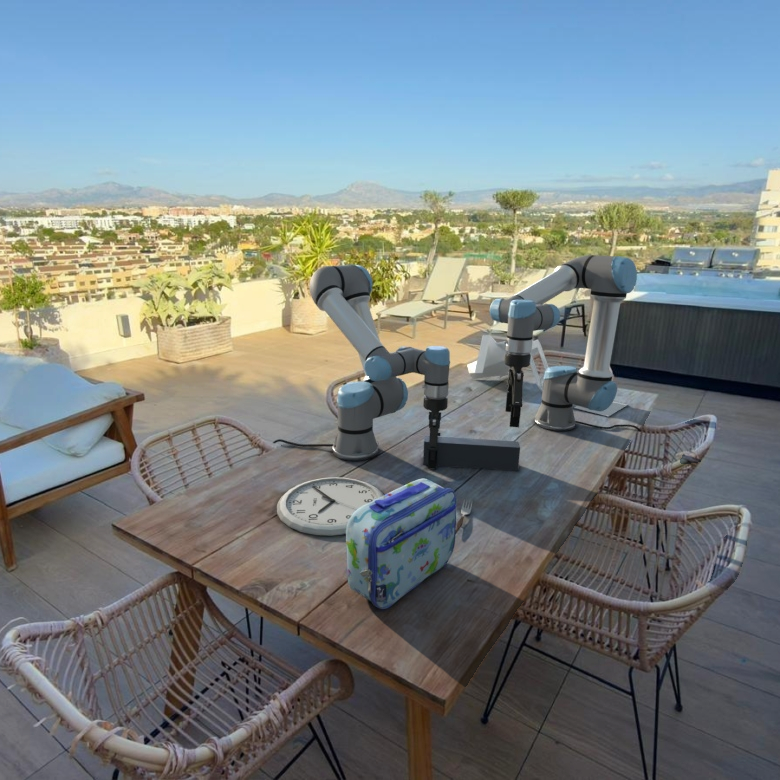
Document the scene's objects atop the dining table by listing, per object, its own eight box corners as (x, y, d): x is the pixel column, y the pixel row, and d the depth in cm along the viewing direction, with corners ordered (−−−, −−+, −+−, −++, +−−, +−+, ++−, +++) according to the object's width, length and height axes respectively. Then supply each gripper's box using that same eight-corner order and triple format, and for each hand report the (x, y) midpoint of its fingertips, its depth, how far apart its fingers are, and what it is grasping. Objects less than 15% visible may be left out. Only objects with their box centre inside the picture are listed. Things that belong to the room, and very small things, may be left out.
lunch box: (375, 622, 100) (376, 527, 94) (339, 595, 108) (338, 505, 101) (459, 565, 118) (465, 481, 112) (424, 545, 125) (427, 465, 119)
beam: (516, 464, 170) (518, 441, 167) (517, 470, 165) (520, 447, 163) (423, 458, 173) (424, 435, 171) (423, 464, 168) (423, 441, 166)
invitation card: (608, 416, 214) (573, 407, 224) (608, 416, 214) (573, 407, 224) (627, 404, 229) (594, 396, 238) (627, 405, 229) (594, 397, 239)
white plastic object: (488, 421, 263) (468, 398, 238) (469, 347, 285) (449, 320, 260) (560, 397, 251) (547, 370, 226) (534, 322, 273) (519, 290, 248)
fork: (449, 535, 129) (449, 528, 129) (463, 505, 144) (463, 498, 143) (459, 537, 129) (460, 530, 128) (472, 507, 143) (473, 500, 142)
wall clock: (392, 527, 129) (269, 531, 127) (392, 533, 130) (269, 537, 127) (383, 473, 158) (282, 475, 155) (383, 478, 158) (283, 480, 156)
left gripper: (425, 385, 175) (423, 447, 181) (421, 406, 153) (419, 475, 160) (448, 386, 174) (445, 448, 180) (447, 408, 153) (443, 477, 159)
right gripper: (501, 343, 169) (496, 405, 175) (509, 361, 145) (503, 432, 151) (525, 344, 168) (519, 406, 174) (537, 363, 144) (529, 434, 151)
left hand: (432, 461), depth 170 cm, fingers open, 9 cm apart
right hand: (511, 418), depth 163 cm, fingers open, 13 cm apart
